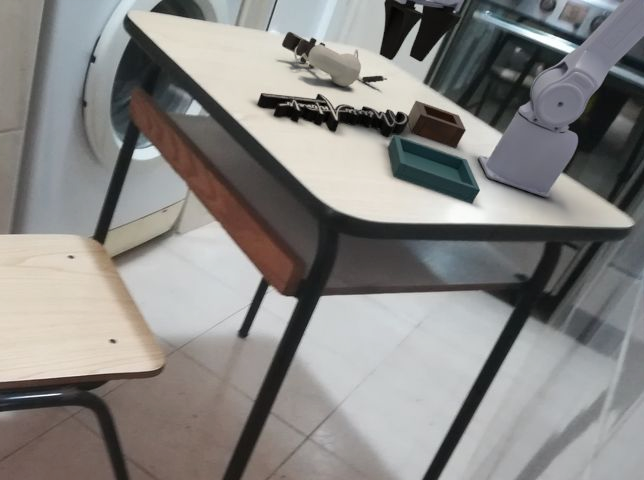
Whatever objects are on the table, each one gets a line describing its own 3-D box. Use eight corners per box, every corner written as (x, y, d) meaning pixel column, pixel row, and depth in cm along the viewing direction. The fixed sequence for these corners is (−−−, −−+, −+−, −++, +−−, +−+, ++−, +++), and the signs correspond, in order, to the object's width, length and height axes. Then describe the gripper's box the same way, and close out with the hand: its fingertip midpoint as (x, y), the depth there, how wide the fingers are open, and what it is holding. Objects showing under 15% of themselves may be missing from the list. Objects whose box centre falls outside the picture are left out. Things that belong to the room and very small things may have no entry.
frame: (449, 132, 111) (458, 115, 109) (455, 147, 105) (466, 130, 103) (407, 117, 110) (415, 100, 109) (411, 132, 105) (420, 114, 103)
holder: (459, 172, 97) (466, 159, 96) (472, 203, 89) (480, 190, 87) (387, 147, 96) (394, 134, 95) (393, 176, 88) (400, 162, 87)
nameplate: (389, 101, 109) (428, 130, 103) (384, 110, 110) (423, 139, 104) (251, 85, 96) (287, 117, 90) (248, 96, 97) (283, 128, 91)
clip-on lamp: (342, 85, 126) (273, 51, 115) (360, 51, 123) (291, 13, 112) (382, 107, 118) (312, 73, 107) (402, 71, 115) (332, 33, 104)
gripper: (454, -48, 96) (408, 48, 104) (395, -63, 87) (350, 44, 95) (494, -31, 92) (444, 68, 100) (437, -44, 83) (387, 65, 92)
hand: (401, 58), depth 98 cm, fingers open, 7 cm apart
